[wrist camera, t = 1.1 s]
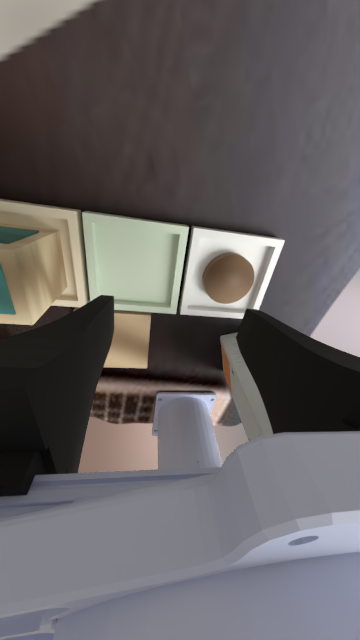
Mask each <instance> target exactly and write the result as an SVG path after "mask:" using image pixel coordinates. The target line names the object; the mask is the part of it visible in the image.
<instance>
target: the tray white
mask: <svg viewBox="0 0 360 640" xmlns="http://www.w3.org/2000/svg"><path fill="white" fill-rule="evenodd" d="M284 242H285V240H283V239H280V238H277V237H270V236H263V235H256V234H248V233H241V232H234V231H227V230H220V229H213V228H206V227H198V226H192V227H191V234H190V240H189V247H188V253H187V259H186V266H185V272H184V279H183V285H182V292H181V298H180V305H179V311H180V314H182V315H197V316H211V317H225V318H240V319H243V317H244V314H245V311H246V308H247V309H257V310H259V307H260V305H261V302H262V299H263V297H264V294H265V292H266V289H267V286H268V284H269V281H270V278H271V276H272V273H273V271H274V268H275V265H276V263H277V260H278V257H279V255H280V252H281V250H282V247H283V244H284ZM223 253H236V254H239V255H241V256H242V257H244V258H245V259H246V260H248V261H249V262H250V263H251V265H252V267H253V269H254V274H255V277H254V283H253V285H252V288H251V289H250V291H249V292H248V293H247V294H246V295H245V296H244V297H243V298H242V299H240V300H239V301H236V302H234V303H230V304H222V303H218V302H215V301H214V300H212V299H211V298H210V297H209V296H208V294H207V292H206V290H205V288H204V286H203V273H204V270H205V268H206V266H207V265H208V263H209V262H210V261H211V260H212V259H213V258H215V257H216V256H218V255H221V254H223Z"/></svg>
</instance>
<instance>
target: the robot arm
mask: <svg viewBox="0 0 360 640" xmlns="http://www.w3.org/2000/svg"><path fill="white" fill-rule="evenodd" d="M113 334H114V296H108V295H100V296H98V297H97V298H95V299H93V300H92V301H90V302H89V303H87V304H85V305H84V306H82V307H80V308H79V309H77V310H75V311H73V312H71V313H70V314H68V315H66V316H64V317H62V318H60V319H58V320H56V321H53V322H51V323H49V324H46V325H44V326H41V327H39V328H36V329H33V330H30V331H27V332H24V333H20V334H17V335H14V336H11V337H7V338H4V339H0V640H360V357H357V356H354V355H352V354H349V353H346V352H343V351H341V350H338V349H335V348H333V347H331V346H328V345H326V344H324V343H321V342H319V341H317V340H314V339H313V338H310V337H308V336H306V335H305V334H303V333H301V332H299V331H297V330H295V329H293V328H291V327H289V326H288V325H286V324H284V323H282V322H280V321H279V320H277V319H275V318H273V317H272V316H270V315H268V314H266V313H264V312H262V311H259V310H257V309H247V308H246V311H245V314H244V317H243V319H242V322H241V325H240V328H239V330H238V333H237V336H236V340H237V344H238V347H239V350H240V353H241V355H242V357H243V359H244V361H245V363H246V365H247V367H248V369H249V371H250V373H251V375H252V377H253V379H254V382H255V384H256V386H257V388H258V390H259V392H260V395H261V398H262V401H263V403H264V406H265V409H266V412H267V415H268V418H269V421H270V424H271V427H272V431H273V434H271V435H265V436H260V437H257V438H255V439H253V440H251V441H249V442H246V443H244V444H242V445H240V446H238V447H237V448H236V449H235V450H234V451H233V452H232V453H231V454H230V455H229V456H228V457H227V458H226V460H225V461H224V463H223V464H222V460H221V456H220V453H219V448H218V444H217V440H216V436H215V432H214V428H213V424H212V420H211V416H210V415H211V412H212V409H213V406H214V403H215V400H216V397H217V396H216V393H189V392H159V393H157V395H156V404H155V412H154V420H153V428H152V435H153V436H158V470H140V471H117V472H94V473H78V468H79V463H80V458H81V452H82V447H83V443H84V439H85V434H86V429H87V425H88V420H89V416H90V411H91V407H92V403H93V399H94V395H95V390H96V387H97V384H98V380H99V378H100V375H101V372H102V369H103V367H104V364H105V361H106V358H107V355H108V353H109V350H110V347H111V343H112V339H113Z"/></svg>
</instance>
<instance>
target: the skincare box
mask: <svg viewBox="0 0 360 640" xmlns="http://www.w3.org/2000/svg"><path fill="white" fill-rule="evenodd" d="M237 333H238V332H237ZM237 333H232V334H227V335H222V336H220V341H221V349H222V359H223V372H224V375H225V377H226V380H227V383H228V386H229V389H230V391H231V394H232V397H233V399H234V402H235V405H236V408H237V410H238V413H239V416H240V419H241V421H242V424H243V426H244V429H245V432H246V435H247V437H248V440H249V441H251V440H253V439H255V438H257V437H260V436H265V435H271V434H273V431H272V427H271V424H270V421H269V418H268V415H267V412H266V409H265V406H264V403H263V401H262V398H261V395H260V392H259V390H258V388H257V386H256V384H255V382H254V379H253V377H252V375H251V373H250V371H249V369H248V367H247V365H246V363H245V361H244V359H243V357H242V355H241V353H240V350H239V347H238V344H237V340H236V336H237Z"/></svg>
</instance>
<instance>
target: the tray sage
mask: <svg viewBox="0 0 360 640" xmlns="http://www.w3.org/2000/svg"><path fill="white" fill-rule="evenodd" d="M82 218H83V229H84V240H85V250H86V261H87V272H88V282H89V293H90V301H92V300H93V299H95V298H97V297H98V296H100V295H108V296H114V310H125V311H139V312H154V313H168V314H176V311H177V304H178V297H179V291H180V284H181V277H182V270H183V264H184V257H185V250H186V244H187V237H188V230H189V227H188V226H187V225H184V224H177V223H170V222H163V221H156V220H149V219H141V218H134V217H127V216H120V215H113V214H106V213H99V212H91V211H85V212H82Z"/></svg>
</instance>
